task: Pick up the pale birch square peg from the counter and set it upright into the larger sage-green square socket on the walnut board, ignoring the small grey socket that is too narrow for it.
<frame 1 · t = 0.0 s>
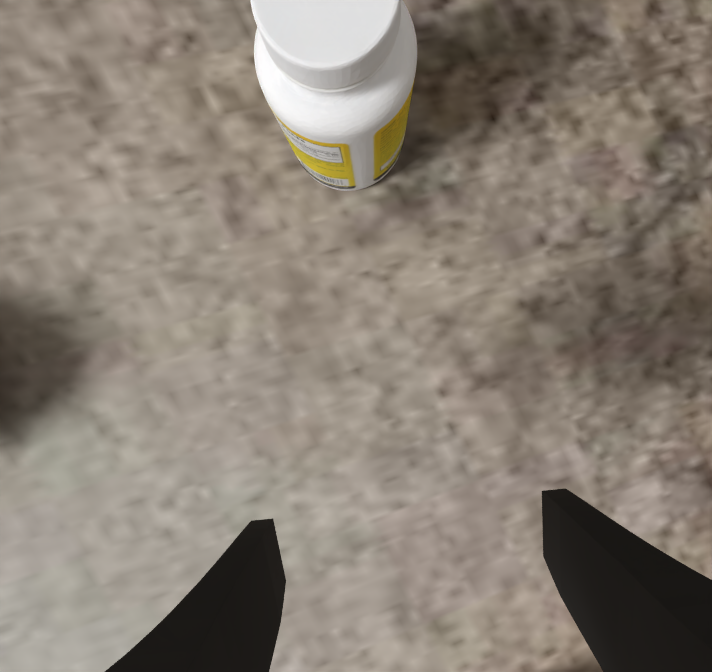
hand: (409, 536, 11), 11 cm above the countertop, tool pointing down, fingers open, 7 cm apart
supplement bottle: (348, 138, 21), on the countertop
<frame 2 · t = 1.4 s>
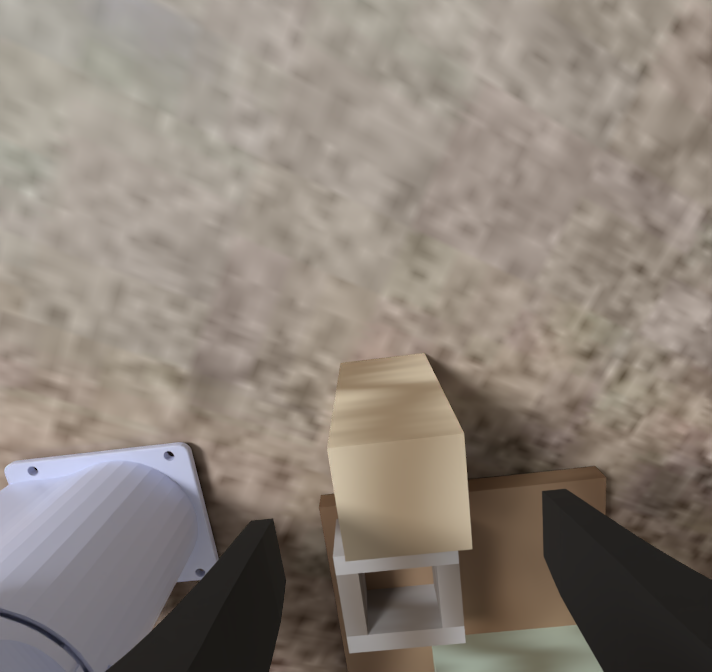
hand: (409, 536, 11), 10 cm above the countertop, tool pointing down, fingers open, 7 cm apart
peg: (386, 397, 20), on the countertop
socket board: (468, 634, 24), on the countertop
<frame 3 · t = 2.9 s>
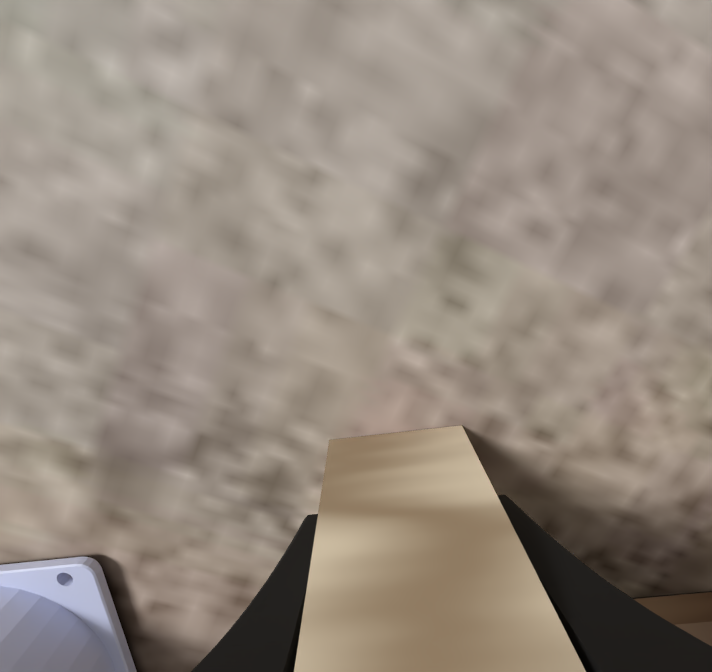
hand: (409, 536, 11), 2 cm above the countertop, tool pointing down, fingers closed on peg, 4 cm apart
peg: (401, 490, 13), on the countertop, touching gripper
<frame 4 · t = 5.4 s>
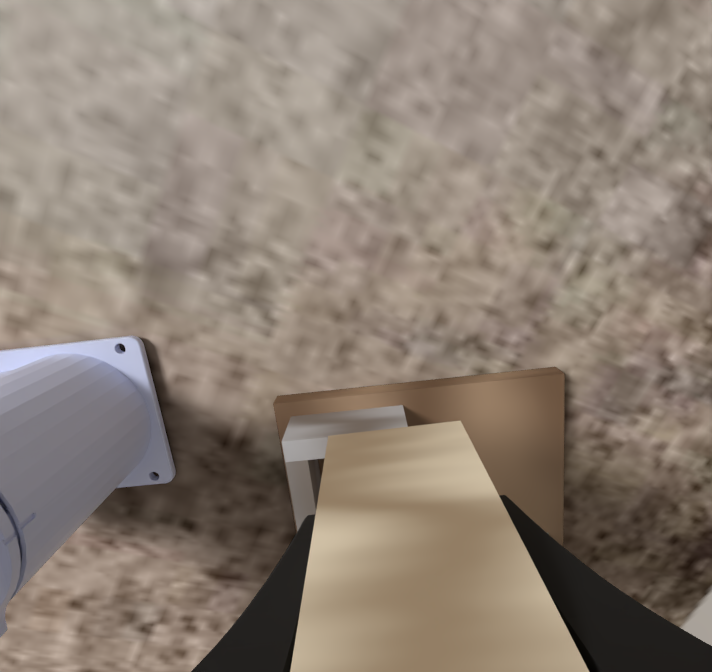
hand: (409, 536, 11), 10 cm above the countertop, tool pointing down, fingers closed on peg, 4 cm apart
peg: (400, 486, 13), point 8 cm above the countertop, touching gripper
socket board: (428, 548, 24), on the countertop
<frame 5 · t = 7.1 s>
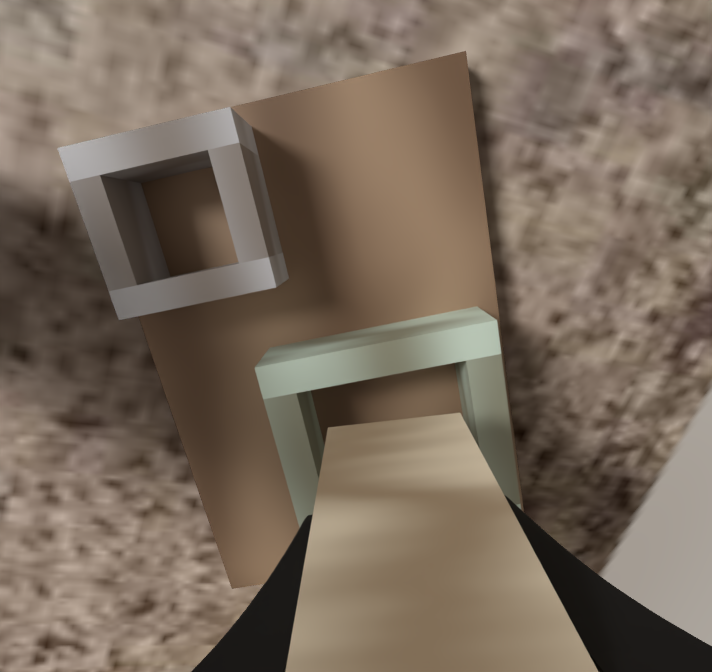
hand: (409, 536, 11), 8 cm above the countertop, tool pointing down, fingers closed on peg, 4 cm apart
peg: (400, 478, 13), point 6 cm above the countertop, touching gripper
socket board: (331, 357, 18), on the countertop
when the fingers open (4 cm above the countertop, at t = 8.3 s): peg stays where it is, resting on socket board.
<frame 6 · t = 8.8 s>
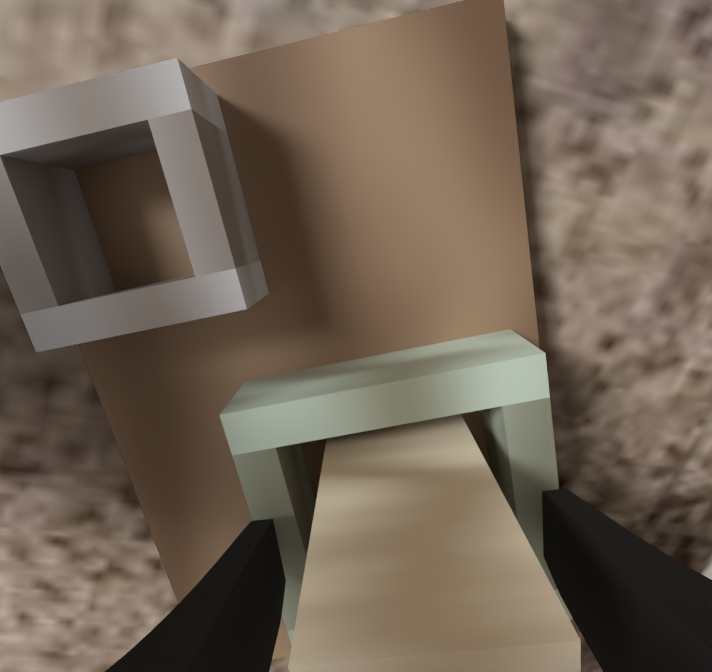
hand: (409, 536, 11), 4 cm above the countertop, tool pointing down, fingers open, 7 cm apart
peg: (398, 464, 14), point 1 cm above the countertop, touching socket board
socket board: (324, 390, 14), on the countertop
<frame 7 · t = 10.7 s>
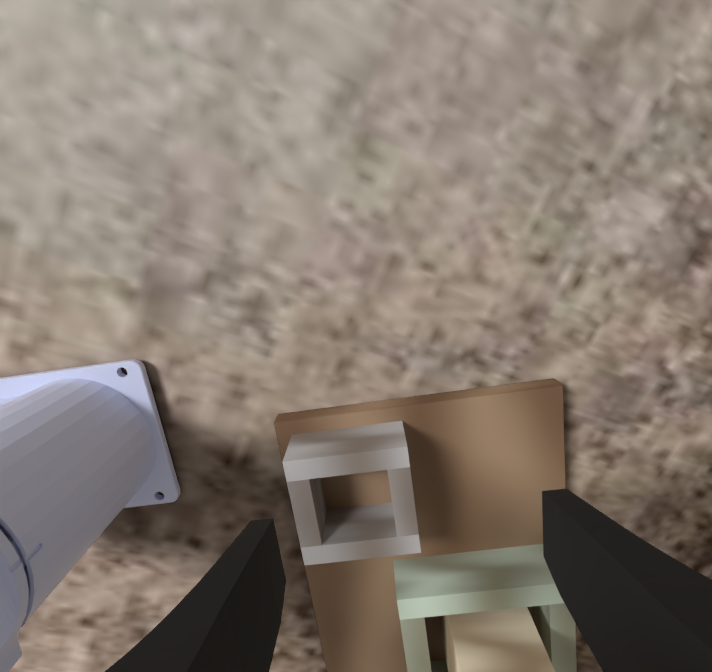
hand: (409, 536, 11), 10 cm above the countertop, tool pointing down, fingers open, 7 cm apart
peg: (477, 609, 23), point 1 cm above the countertop, touching socket board
socket board: (433, 559, 24), on the countertop
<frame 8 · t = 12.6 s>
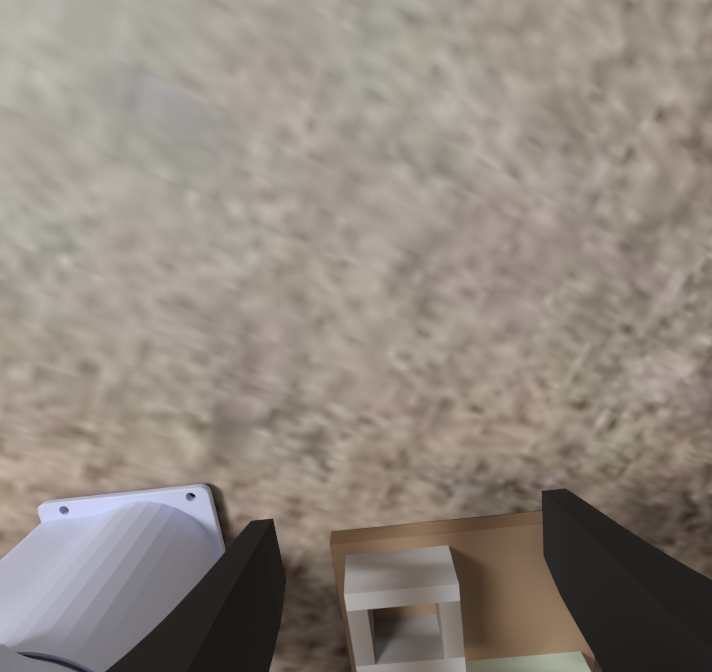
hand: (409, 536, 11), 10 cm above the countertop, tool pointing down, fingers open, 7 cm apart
socket board: (468, 659, 26), on the countertop
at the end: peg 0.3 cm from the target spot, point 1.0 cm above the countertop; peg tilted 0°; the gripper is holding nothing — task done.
